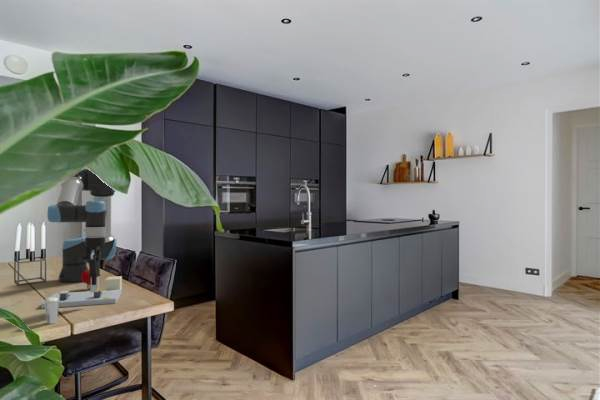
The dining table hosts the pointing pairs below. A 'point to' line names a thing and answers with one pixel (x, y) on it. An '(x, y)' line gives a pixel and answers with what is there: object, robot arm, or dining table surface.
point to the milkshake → (51, 310)
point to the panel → (87, 298)
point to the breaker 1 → (63, 295)
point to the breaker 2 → (98, 293)
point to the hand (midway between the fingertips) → (94, 291)
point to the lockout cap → (113, 283)
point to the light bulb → (86, 278)
